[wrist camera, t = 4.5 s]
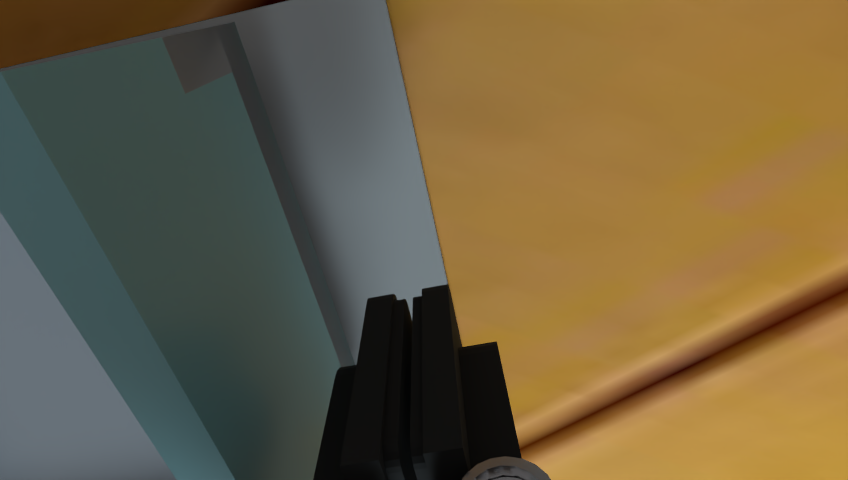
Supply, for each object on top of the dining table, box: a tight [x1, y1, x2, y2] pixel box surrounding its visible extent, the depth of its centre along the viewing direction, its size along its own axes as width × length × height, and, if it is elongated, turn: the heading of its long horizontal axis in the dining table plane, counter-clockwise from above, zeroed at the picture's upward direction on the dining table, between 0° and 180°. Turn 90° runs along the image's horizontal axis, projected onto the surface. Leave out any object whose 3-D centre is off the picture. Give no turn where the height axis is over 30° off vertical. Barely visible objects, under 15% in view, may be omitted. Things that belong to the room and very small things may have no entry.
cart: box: [0, 22, 355, 480], centre depth 12 cm, size 14×14×8 cm
